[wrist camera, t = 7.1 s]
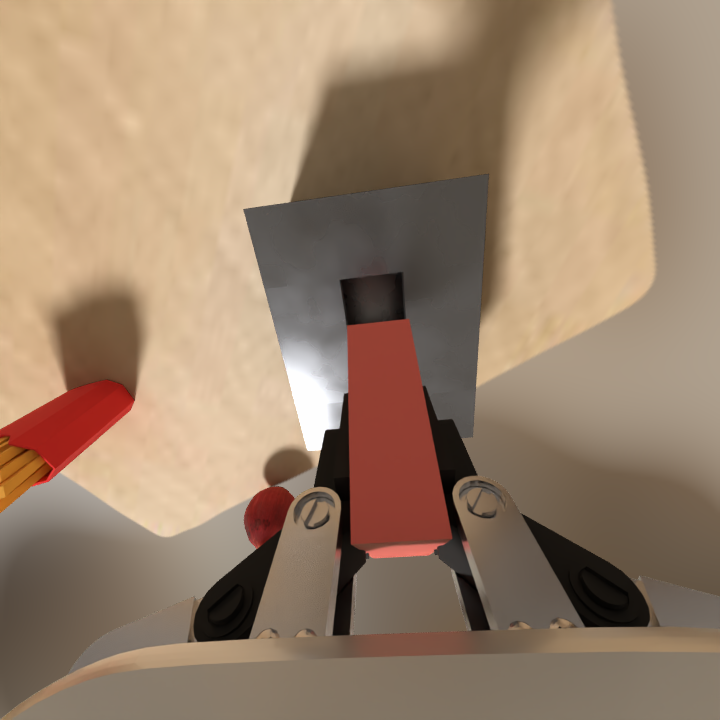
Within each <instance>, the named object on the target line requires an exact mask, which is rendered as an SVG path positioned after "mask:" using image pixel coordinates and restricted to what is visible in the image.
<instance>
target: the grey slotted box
mask: <svg viewBox="0 0 720 720" xmlns="http://www.w3.org/2000/svg"><path fill="white" fill-rule="evenodd" d="M488 179H489V174H484V175H477V176H470V177H463V178H456V179H449V180H442V181H435V182H429V183H422V184H415V185H408V186H401V187H394V188H387V189H380V190H373V191H366V192H359V193H352V194H345V195H338V196H331V197H324V198H317V199H310V200H304V201H297V202H290V203H283V204H276V205H269V206H262V207H255V208H248V209H243V210H244V213H245V217H246V221H247V225H248V228H249V232H250V236H251V240H252V243H253V247H254V251H255V255H256V258H257V262H258V266H259V270H260V273H261V277H262V281H263V285H264V288H265V292H266V296H267V300H268V303H269V307H270V311H271V315H272V318H273V322H274V326H275V330H276V333H277V337H278V341H279V345H280V348H281V352H282V356H283V360H284V363H285V367H286V371H287V375H288V378H289V382H290V386H291V390H292V393H293V397H294V401H295V405H296V408H297V412H298V416H299V420H300V423H301V427H302V431H303V435H304V438H305V442H306V446H307V450H308V451H311V450H321V448H322V443H323V438H324V433H325V431H326V430H329V429H339V428H340V421H341V413H342V405H343V397H344V393H348V346H347V325H356V324H366V323H375V322H384V321H394V320H403V319H409V321H410V326H411V331H412V336H413V341H414V346H415V351H416V356H417V361H418V366H419V371H420V376H421V381H422V386H426V388H427V391H428V394H429V397H430V400H431V402H432V405H433V408H434V411H435V414H436V416H437V419H438V420H445V419H452V420H453V421H454V423H455V425H456V427H457V429H458V432H459V434H460V436H461V438H468V437H473V426H474V410H475V392H476V377H477V360H478V344H479V327H480V311H481V294H482V278H483V261H484V245H485V228H486V212H487V196H488Z"/></svg>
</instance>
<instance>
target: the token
mask: <svg viewBox="0 0 720 720" xmlns="http://www.w3.org/2000/svg"><path fill="white" fill-rule="evenodd" d="M347 346H348V404H349V463H350V522H351V545H353V546H354V547H356V548H358V549H359V550H364V551H366V553H369V556H371V557H372V558H387V557H406V556H425V555H430V554H431V553H433V552H434V549H437V547H438V546H440V545H444V544H446V543H447V542H448V541H450V540H451V539H452V533H451V528H450V523H449V518H448V513H447V508H446V503H445V498H444V493H443V488H442V483H441V478H440V473H439V468H438V462H437V457H436V452H435V447H434V442H433V437H432V432H431V427H430V422H429V417H428V412H427V407H426V402H425V397H424V391H423V386H422V381H421V376H420V371H419V366H418V361H417V356H416V351H415V346H414V341H413V336H412V331H411V326H410V321H409V319H403V320H394V321H384V322H375V323H366V324H356V325H347Z"/></svg>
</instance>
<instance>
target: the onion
mask: <svg viewBox="0 0 720 720" xmlns="http://www.w3.org/2000/svg"><path fill="white" fill-rule="evenodd" d="M293 501H294V497H293V496H292V495H291V494H290V493H289V491H288V490H286V489H284V488H283V487H279V486H276V487H269V488H267V489H264V490H262V491H260V492H259V493H257V494H256V495H255V496H254V497H253V499H252V500H251V501H250V503H249V505H248V507H247V509H246V512H245V515H244V524H245V529H246V532H247V535H248V538H249V540H250V542H251V543H252V544H253V545H254V546H255V547H256V549H258V548H259V547H260V546H261V545H263V544H264V543H265V542H266V541H267V540H269V539H270V538H271V537H272V536H273V535H275V534H276V533H277V532H278V531H279V530H281V529H282V528H283V526H284V522H285V519H286V516H287V512H288V510H289V507H290V505H291V503H292V502H293Z"/></svg>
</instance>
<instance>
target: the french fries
mask: <svg viewBox="0 0 720 720" xmlns="http://www.w3.org/2000/svg"><path fill="white" fill-rule="evenodd" d="M133 403H134V399H133V398H132V397H131V395H130V394H129V393H128V391H127V390H126V389H125V387H124V386H123V385H122V384H119V383H116V382H112V381H109V380H103V381H98V382H95V383H91V384H87V385H84V386H80V387H77V388H74V389H72V390H70V391H68V392H66V393H64V394H63V395H61V396H59V397H57V398H55V399H54V400H52V401H50V402H48V403H47V404H45V405H43V406H41V407H39V408H38V409H36V410H34V411H32V412H31V413H29V414H27V415H25V416H23V417H22V418H20V419H18V420H16V421H15V422H13V423H11V424H9V425H7V426H6V427H4V428H2V429H0V513H1V512H2V511H3V510H5V509H6V508H7V507H8V506H9V505H10V504H12V503H13V502H14V501H15V500H16V499H17V498H18V497H20V496H21V495H22V494H23V493H24V492H25V491H27V490H28V489H29V488H30V487H31V486H35V485H39V484H42V483H46V482H49V481H50V480H51V479H52V478H53V477H54V476H56V475H57V474H58V473H59V472H60V471H61V470H62V469H64V468H65V467H66V466H67V465H68V464H69V463H70V462H72V461H73V460H74V459H75V458H76V457H77V456H79V455H80V454H81V453H82V452H83V451H84V450H85V449H87V448H88V447H89V446H90V445H91V444H92V443H93V442H95V441H96V440H97V439H98V438H99V437H100V436H101V435H103V434H104V433H105V432H106V431H107V430H108V429H109V428H111V427H112V426H113V425H114V424H115V423H116V422H118V421H119V420H120V419H121V418H122V417H123V416H124V415H126V414H127V413H128V412H129V411H130V410H131V408H132V405H133Z"/></svg>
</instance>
